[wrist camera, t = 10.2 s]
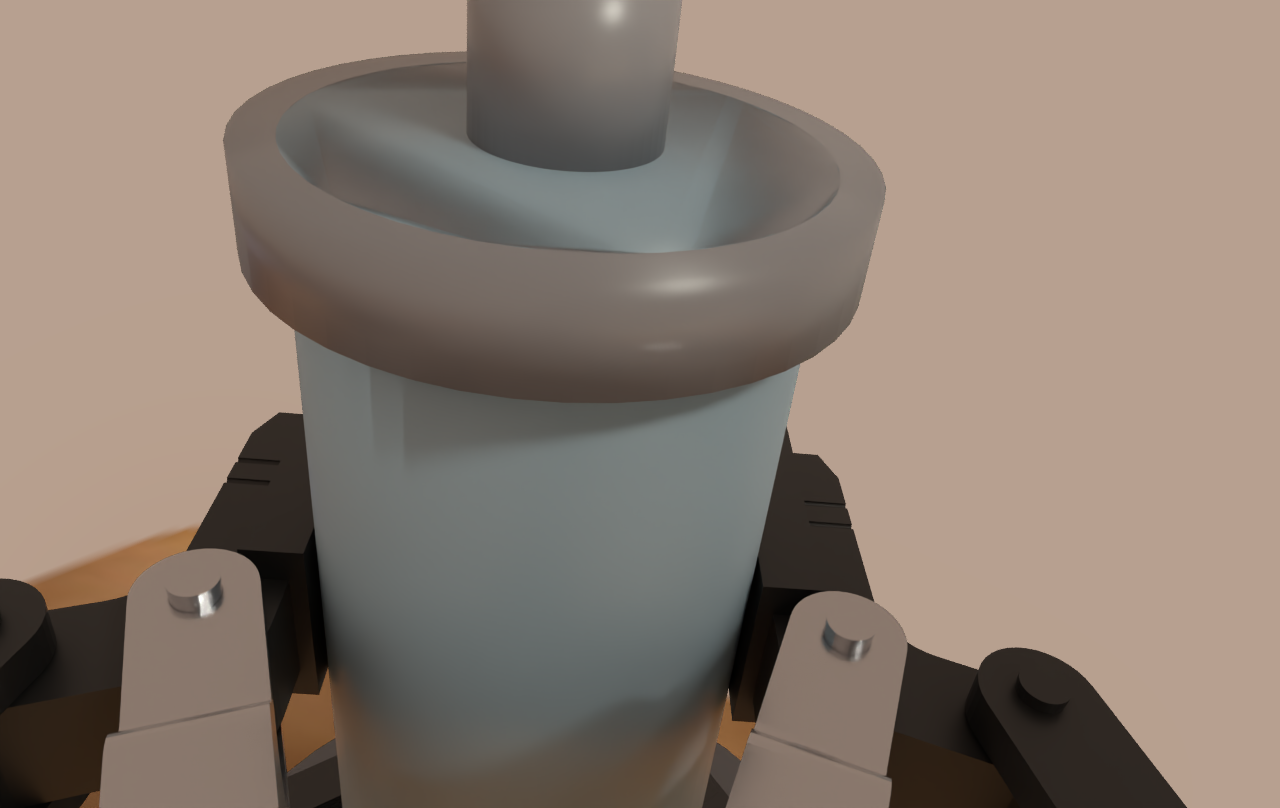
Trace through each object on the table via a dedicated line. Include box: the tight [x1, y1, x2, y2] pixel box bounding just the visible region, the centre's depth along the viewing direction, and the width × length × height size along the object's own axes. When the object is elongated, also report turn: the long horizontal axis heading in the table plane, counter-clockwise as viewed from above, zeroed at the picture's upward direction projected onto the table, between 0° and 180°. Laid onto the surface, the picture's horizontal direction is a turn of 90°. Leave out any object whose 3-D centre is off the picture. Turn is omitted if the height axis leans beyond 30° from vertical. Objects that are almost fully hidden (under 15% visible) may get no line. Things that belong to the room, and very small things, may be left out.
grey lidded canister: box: [223, 0, 886, 808], centre depth 12 cm, size 6×6×14 cm
